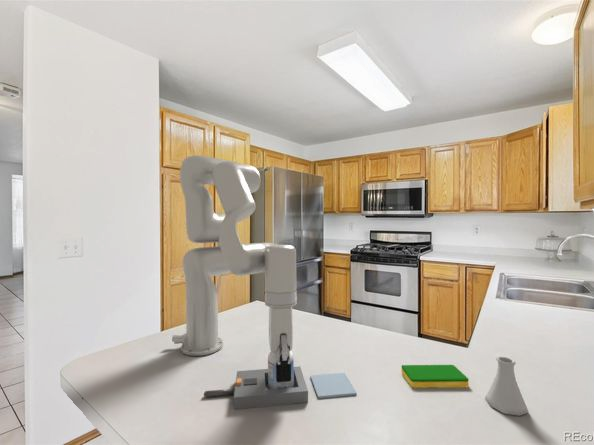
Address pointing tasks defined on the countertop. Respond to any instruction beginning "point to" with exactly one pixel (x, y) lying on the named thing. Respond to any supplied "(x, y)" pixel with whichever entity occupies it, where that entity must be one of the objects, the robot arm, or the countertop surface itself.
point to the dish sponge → (434, 376)
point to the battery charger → (263, 390)
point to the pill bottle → (272, 372)
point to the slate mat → (332, 385)
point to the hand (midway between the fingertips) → (281, 370)
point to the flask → (506, 390)
